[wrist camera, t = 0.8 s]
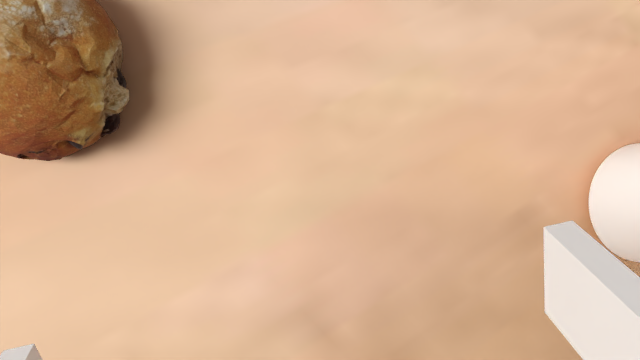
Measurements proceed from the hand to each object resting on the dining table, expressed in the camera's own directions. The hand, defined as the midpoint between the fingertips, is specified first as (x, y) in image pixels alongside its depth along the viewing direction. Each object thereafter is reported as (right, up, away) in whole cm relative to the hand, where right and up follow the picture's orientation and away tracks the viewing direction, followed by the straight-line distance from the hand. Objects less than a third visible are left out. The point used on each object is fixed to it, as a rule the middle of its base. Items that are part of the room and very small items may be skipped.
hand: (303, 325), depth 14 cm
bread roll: (-15, +10, +17) cm, 25 cm away
